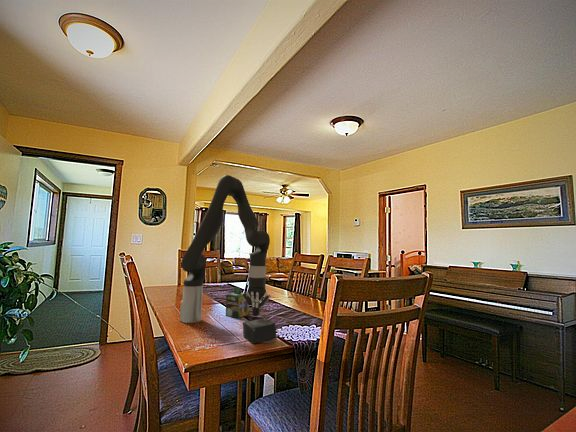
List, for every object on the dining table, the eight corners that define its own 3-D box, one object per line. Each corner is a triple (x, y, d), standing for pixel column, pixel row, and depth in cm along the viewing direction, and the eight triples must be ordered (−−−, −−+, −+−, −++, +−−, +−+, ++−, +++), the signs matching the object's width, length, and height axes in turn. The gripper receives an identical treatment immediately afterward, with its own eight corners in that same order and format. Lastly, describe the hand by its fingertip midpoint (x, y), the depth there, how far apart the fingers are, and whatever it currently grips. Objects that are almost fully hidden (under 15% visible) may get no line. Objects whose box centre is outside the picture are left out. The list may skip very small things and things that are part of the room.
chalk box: (249, 315, 165) (250, 287, 166) (238, 318, 158) (239, 289, 159) (236, 312, 170) (237, 285, 171) (224, 315, 163) (226, 287, 164)
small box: (243, 337, 129) (252, 344, 120) (242, 321, 129) (251, 327, 120) (266, 332, 134) (276, 339, 125) (265, 317, 134) (275, 322, 125)
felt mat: (259, 342, 123) (259, 340, 123) (270, 334, 133) (270, 333, 133) (269, 343, 122) (269, 342, 122) (279, 335, 132) (279, 334, 132)
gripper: (274, 276, 137) (273, 315, 136) (247, 274, 142) (246, 312, 140) (267, 277, 130) (266, 319, 129) (239, 275, 135) (238, 316, 133)
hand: (255, 315), depth 135 cm, fingers closed
